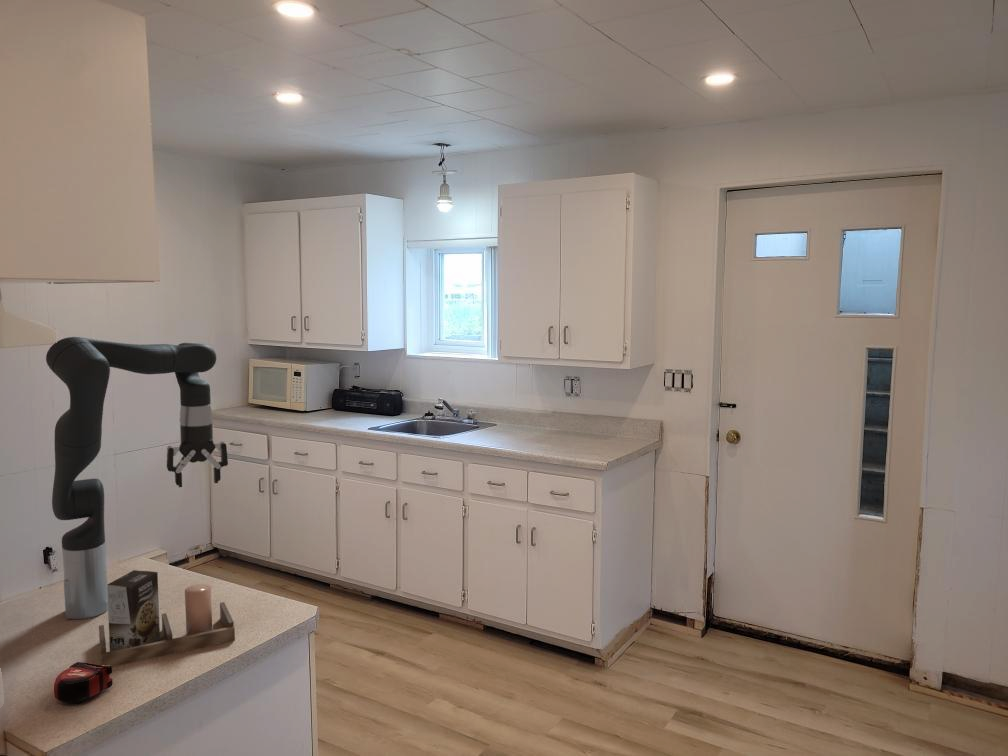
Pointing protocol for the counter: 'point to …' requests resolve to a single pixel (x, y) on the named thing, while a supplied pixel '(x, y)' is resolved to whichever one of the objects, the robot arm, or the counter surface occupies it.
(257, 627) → the counter surface
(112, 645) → the coffee box
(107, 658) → the wooden rack
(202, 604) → the pink rounded cylinder
